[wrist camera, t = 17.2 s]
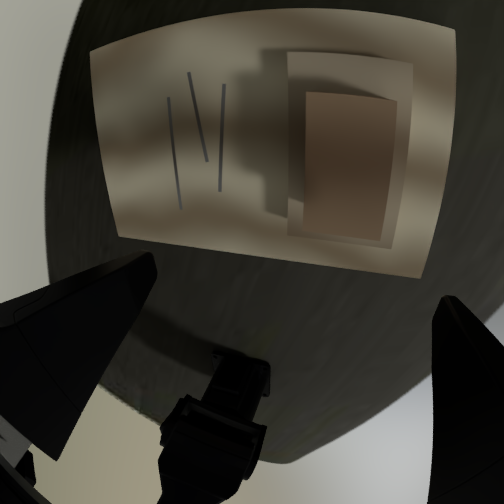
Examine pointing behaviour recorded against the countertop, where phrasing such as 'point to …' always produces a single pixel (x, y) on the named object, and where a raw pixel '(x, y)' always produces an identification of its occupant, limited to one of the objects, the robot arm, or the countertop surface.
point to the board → (257, 131)
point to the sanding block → (347, 146)
